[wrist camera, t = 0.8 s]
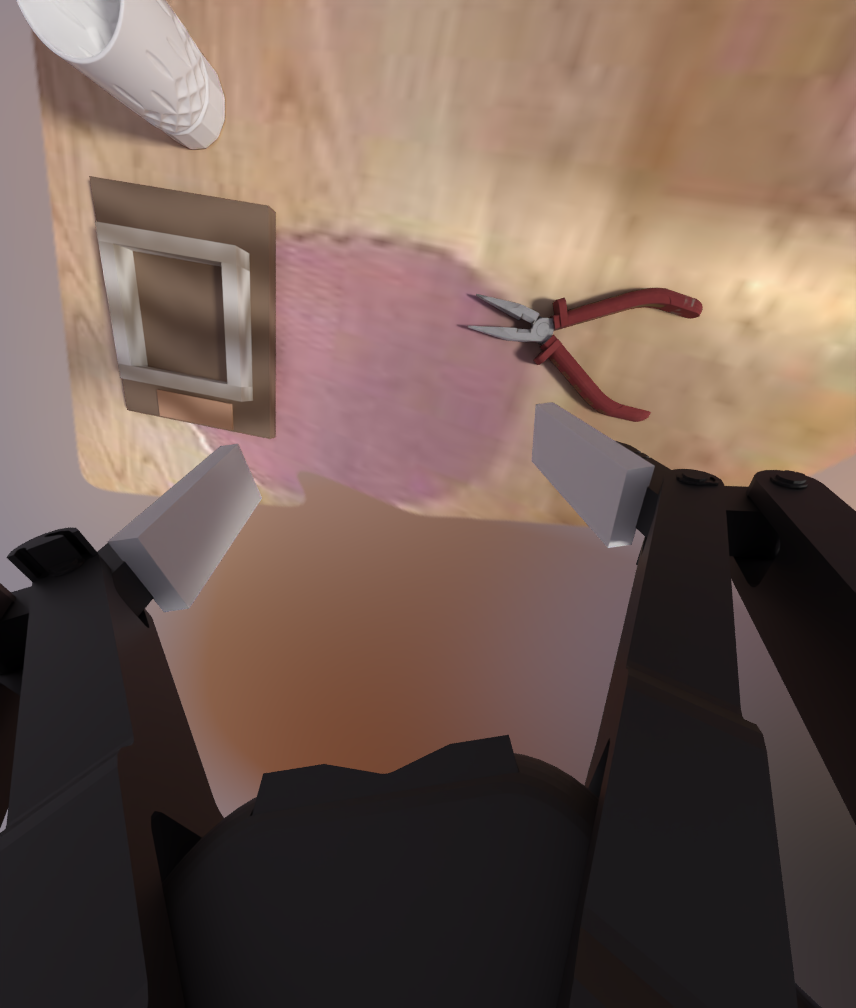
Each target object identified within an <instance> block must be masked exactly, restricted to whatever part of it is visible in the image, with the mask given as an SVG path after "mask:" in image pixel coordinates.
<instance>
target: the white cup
mask: <svg viewBox="0 0 856 1008" xmlns="http://www.w3.org/2000/svg"><path fill="white" fill-rule="evenodd" d="M16 1H17V4H18V6H19V8H20V10H21V12H22V14H23V16H24V17H25V19H26V21H27V22H28V24H29V26H30V27H31V28H32V30H33V31H34V33H35V34H36V35H37V36H38V38H39V39H40V40H41V41H42V42H43V43H44V44H45V45H46V46H47V47H48V48H49V49H50V50H51V51H53V52H54V53H55V54H57V55H58V56H59V57H61V58H62V59H63V60H65V61H66V62H68V63H69V64H70V65H72V66H73V67H74V68H76V69H77V70H78V71H80V72H81V73H82V74H84V75H85V76H86V77H88V78H89V79H90V80H92V81H93V82H94V83H96V84H97V85H98V86H100V87H101V88H102V89H104V90H105V91H106V92H108V93H109V94H110V95H112V96H113V97H114V98H116V99H117V100H118V101H120V102H121V103H122V104H124V105H125V106H127V107H128V108H129V109H131V110H132V111H134V112H135V113H136V114H138V115H139V116H141V117H142V118H144V119H145V120H146V121H148V122H149V123H151V124H152V125H153V126H155V127H156V128H158V129H161V130H162V131H163V132H164V133H166V134H167V135H168V136H170V137H171V138H172V139H174V140H175V141H177V142H179V143H180V144H182V145H184V146H186V147H188V148H189V149H203V148H207V147H208V146H209V145H211V144H212V143H213V142H214V141H215V140H216V139H217V138H218V137H219V134H220V131H221V129H222V126H223V123H224V121H225V97H224V94H223V90H222V87H221V84H220V81H219V78H218V75H217V73H216V71H215V70H214V69H213V67H212V66H211V64H210V63H209V62H208V60H207V59H206V58H205V56H204V55H203V53H202V52H201V51H200V49H199V48H198V47H197V45H196V44H195V42H194V41H193V40H192V38H191V36H190V34H189V32H188V30H187V29H186V28H185V26H184V25H183V24H182V23H181V21H180V20H179V18H178V17H177V15H176V14H175V12H174V11H173V9H172V8H171V7H170V5H169V4H168V3H167V1H166V0H16Z"/></svg>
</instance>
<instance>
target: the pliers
mask: <svg viewBox="0 0 856 1008" xmlns="http://www.w3.org/2000/svg"><path fill="white" fill-rule="evenodd" d="M476 296H477V297H479V298H481V299H482V300H484V301H486V302H487V303H489V304H491V305H493V306H494V307H496V308H498V309H500V310H501V311H503V312H505V313H506V314H508V315H510V316H512V317H514V318H515V319H517V320H520V318H522V319H524V320H526V321H527V322H529V323H531V326H530V327H531V328H530V329H517V328H507V327H485V326H467V328H470V329H473V330H476V331H479V332H482V333H485V334H488V335H491V336H494V337H498V338H501V339H504V340H508V341H518V342H529V341H532V342H536V343H538V344H540V345H541V346H540V348H541V349H542V350H543V351H542V352H541V353H540V354H539V355H538V356H537V357H536V358H535V359H534V361H535V362H536V364H537V365H540V364H541V363H543V362H544V361H545V360H546V359H547V358H549V359H550V360H551V361H552V362H553V364H554V365H555V366H556V367H557V368H558V369H559V371H560V372H561V373H562V374H563V375H564V376H565V378H566V379H567V380H568V381H569V382H570V383H571V385H572V386H573V387H574V388H575V389H576V390H577V391H578V393H579V394H580V395H581V396H582V397H583V398H584V400H585V401H586V402H587V403H588V404H589V405H591V406H592V407H593V408H594V409H596V410H597V411H598V412H600V413H602V414H604V415H608V416H612V417H616V418H621V419H625V420H629V421H633V422H638V421H643V420H645V419H647V418H648V417H649V415H650V413H651V412H649V411H645V410H642V409H637V408H633V407H629V406H625V405H622V404H619V403H617V402H615V401H613V400H611V399H610V398H609V397H607V396H606V395H605V394H604V393H603V392H602V391H601V390H600V389H599V388H598V387H597V385H596V384H595V383H594V382H593V381H592V379H591V378H590V377H589V376H588V375H587V373H586V372H585V371H584V370H583V369H582V368H581V366H580V365H579V364H578V363H577V362H576V360H575V359H574V358H573V357H572V356H571V354H570V353H569V352H568V351H567V350H566V348H565V347H564V346H563V345H562V343H561V342H560V341H559V340H558V339H557V338H556V337H555V336H554V335H552V334H553V331H555V330H559V329H562V328H566V327H569V326H573V325H576V324H580V323H583V322H587V321H590V320H594V319H597V318H601V317H604V316H608V315H611V314H615V313H618V312H622V311H625V310H629V309H634V308H642V307H649V308H656V309H660V310H663V311H666V312H669V313H673V314H676V315H679V316H682V317H685V318H696V317H699V316H700V314H701V312H702V304H701V302H700V301H699V300H697V299H695V298H692V297H689V296H686V295H683V294H680V293H677V292H674V291H671V290H668V289H666V288H648V289H641V290H636V291H631V292H628V293H625V294H621V295H618V296H615V297H611V298H608V299H604V300H601V301H598V302H594V303H591V304H588V305H584V306H581V307H577V308H574V309H571V310H567V305H566V300H565V298H561V299H558V300H556V301H555V302H554V303H553V309H554V315H553V316H551V317H550V318H542V317H540V316H539V314H540V313H538V312H536V311H534V310H532V309H530V308H528V307H526V306H524V305H521V304H518V303H514V302H510V301H505V300H501V299H497V298H492V297H488V296H483V295H479V294H476Z"/></svg>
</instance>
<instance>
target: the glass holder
mask: <svg viewBox="0 0 856 1008" xmlns="http://www.w3.org/2000/svg"><path fill="white" fill-rule="evenodd" d="M89 177H90V183H91V190H92V196H93V202H94V208H95V214H96V220H97V222H96V221H95V225H96V231H97V237H98V244H99V250H100V256H101V262H102V268H103V274H104V280H105V286H106V293H107V299H108V305H109V311H110V317H111V323H112V329H113V335H114V341H115V348H116V354H117V360H118V366H119V372H120V378H122V381H123V387H124V393H125V400H126V406H127V410H129V411H134V412H139V413H144V414H149V415H154V416H159V417H164V418H169V419H174V420H179V421H184V422H189V423H193V424H198V425H203V426H208V427H213V428H218V429H223V430H228V431H233V432H238V433H243V434H248V435H253V436H258V437H263V438H268V439H271V438H275V365H276V212H275V211H274V210H273V209H272V208H270V207H269V206H267V205H261V204H255V203H248V202H242V201H236V200H230V199H224V198H218V197H212V196H206V195H200V194H194V193H188V192H182V191H176V190H170V189H164V188H158V187H152V186H146V185H140V184H133V183H127V182H121V181H115V180H109V179H103V178H97V177H91V176H89Z"/></svg>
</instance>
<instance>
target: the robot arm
mask: <svg viewBox="0 0 856 1008" xmlns="http://www.w3.org/2000/svg"><path fill="white" fill-rule="evenodd" d="M532 462H533V463H534V464H535V465H536V467H537V468H538V469H539V470H540V471H541V472H542V473H543V475H544V476H545V477H546V478H547V479H548V480H549V481H550V482H551V484H552V485H553V486H554V487H555V488H556V489H557V490H558V492H559V493H560V494H561V495H562V496H563V497H564V498H565V500H566V501H567V502H568V503H569V504H570V505H571V506H572V508H573V509H574V510H575V511H576V512H577V513H578V514H579V515H580V517H581V518H582V519H583V520H584V521H585V522H586V523H587V525H588V526H589V527H590V528H591V529H592V530H593V531H594V533H595V534H596V535H597V536H598V537H599V538H600V539H601V540H602V541H603V543H604V544H605V545H606V546H607V547H608V548H610V547H618V546H624V545H631V544H632V541H633V538H634V534H635V531H636V528H637V529H638V530H639V531H640V532H641V533H642V534H643V535H644V536H645V538H644V541H643V545H642V547H641V551H640V554H639V557H638V560H637V563H636V565H637V570H636V574H635V578H634V583H633V587H632V591H631V596H630V600H629V604H628V608H627V613H626V617H625V621H624V626H623V630H622V635H621V639H620V643H619V647H618V652H617V656H616V660H615V664H614V669H613V673H612V678H611V682H610V686H609V691H608V695H607V699H606V703H605V707H604V712H603V716H602V721H601V725H600V729H599V733H598V738H597V742H596V746H595V750H594V753H593V757H592V760H591V764H590V767H589V770H588V774H587V778H586V782H585V786H584V785H583V784H581V783H580V782H578V781H577V780H576V779H575V778H573V777H572V776H570V775H569V774H567V773H565V772H563V771H562V770H560V769H559V768H557V767H555V766H553V765H551V764H548V763H546V762H544V761H541V760H539V759H536V758H533V757H529V756H526V755H522V754H516V753H513V749H512V745H511V742H510V738H509V735H505V736H498V737H492V738H485V739H479V740H473V741H466V742H460V743H454V744H449V745H447V746H445V747H443V748H441V749H439V750H437V751H435V752H433V753H430V754H428V755H426V756H424V757H422V758H420V759H418V760H416V761H414V762H412V763H410V764H408V765H406V766H404V767H402V768H400V769H398V770H396V771H394V772H391V773H388V774H379V773H374V772H368V771H362V770H356V769H350V768H344V767H338V766H333V765H327V764H321V765H315V766H309V767H303V768H296V769H290V770H284V771H277V772H271V773H264V774H263V777H262V780H261V784H260V788H259V791H258V795H257V797H256V798H254V799H252V800H250V801H249V802H247V803H246V804H244V805H242V806H241V807H239V808H237V809H236V810H235V811H233V812H232V813H231V814H229V815H228V816H227V817H225V818H224V817H223V816H222V814H221V813H220V811H219V809H218V807H217V805H216V803H215V800H214V798H213V795H212V792H211V789H210V786H209V783H208V780H207V777H206V774H205V771H204V768H203V766H202V762H201V759H200V757H199V754H198V751H197V748H196V745H195V742H194V739H193V736H192V733H191V730H190V727H189V725H188V722H187V718H186V716H185V713H184V710H183V707H182V704H181V701H180V698H179V695H178V692H177V689H176V686H175V683H174V680H173V678H172V675H171V672H170V669H169V666H168V663H167V660H166V657H165V654H164V651H163V648H162V646H161V642H160V639H159V637H158V633H157V631H156V628H155V625H154V622H153V619H152V617H151V615H149V613H148V612H147V611H146V610H145V607H146V606H147V605H148V604H149V603H150V601H151V600H152V599H154V600H155V602H156V603H157V604H158V605H159V606H160V608H161V609H162V610H163V611H164V612H168V611H175V610H182V609H188V608H190V607H191V605H192V603H193V602H194V600H195V599H196V597H197V596H198V594H199V593H200V591H201V590H202V588H203V587H204V585H205V584H206V582H207V581H208V579H209V578H210V576H211V575H212V573H213V572H214V570H215V568H216V567H217V566H218V564H219V562H220V561H221V559H222V558H223V556H224V555H225V553H226V552H227V550H228V549H229V547H230V546H231V544H232V543H233V541H234V540H235V538H236V537H237V535H238V534H239V532H240V531H241V529H242V528H243V526H244V524H245V523H246V521H247V520H248V518H249V517H250V515H251V514H252V512H253V511H254V509H255V508H256V506H257V505H258V503H259V502H260V500H261V499H262V497H261V495H260V492H259V490H258V488H257V485H256V483H255V481H254V479H253V476H252V474H251V472H250V469H249V467H248V465H247V463H246V460H245V458H244V456H243V454H242V451H241V449H240V447H239V444H233V445H225V446H220V447H219V448H218V449H216V450H215V451H214V452H213V453H212V454H211V455H209V456H208V457H207V458H206V459H205V460H203V461H202V462H201V463H200V464H199V465H198V466H196V467H195V468H194V469H193V470H192V471H190V472H189V473H188V474H187V475H186V476H185V477H183V478H182V479H181V480H180V481H179V482H177V483H176V484H175V485H174V486H173V487H172V488H170V489H169V490H168V491H167V492H166V493H164V494H163V495H162V496H161V497H160V498H159V499H157V500H156V501H155V502H154V503H153V504H152V505H150V506H149V507H148V508H147V509H146V510H144V511H143V512H142V513H141V514H140V515H138V516H137V517H136V518H135V519H134V520H133V521H131V522H130V523H129V524H128V525H127V526H125V527H124V528H123V529H122V530H121V531H120V532H118V533H117V534H116V535H115V536H114V537H112V538H111V539H110V540H109V541H108V543H107V544H106V545H105V546H104V547H102V548H101V549H100V550H99V551H98V552H96V550H95V549H94V548H93V547H92V546H91V544H90V543H89V542H88V541H87V540H86V539H85V537H84V536H83V535H82V534H81V533H80V531H79V530H78V529H76V528H64V529H58V530H55V531H52V532H49V533H45V534H43V535H40V536H38V537H36V538H33V539H31V540H29V541H27V542H25V543H24V544H22V545H20V546H18V547H17V548H16V549H14V550H13V551H11V553H10V554H9V555H8V556H7V558H8V559H9V560H10V561H11V562H12V563H13V564H14V565H15V566H16V567H17V568H18V569H19V570H20V571H21V572H22V573H23V574H25V575H26V576H27V577H28V578H29V579H30V580H31V581H32V586H31V587H28V588H24V589H21V590H18V591H14V592H10V591H8V590H7V589H6V588H5V587H4V586H3V585H2V584H0V827H1V825H2V822H3V820H4V817H5V815H6V812H7V809H8V816H7V825H6V829H5V830H4V831H2V832H1V833H0V1008H822V1007H821V1006H819V1005H818V1004H817V1003H816V1002H815V1001H814V1000H813V999H812V998H811V997H810V996H809V995H808V994H807V993H805V991H803V990H802V989H801V988H800V987H799V986H798V985H797V984H796V983H795V981H794V972H793V964H792V956H791V948H790V940H789V931H788V923H787V915H786V906H785V898H784V890H783V881H782V874H781V865H780V857H779V849H778V840H777V832H776V824H775V815H774V807H773V799H772V792H771V782H770V774H769V766H768V757H767V750H766V746H765V742H764V737H763V734H762V732H761V731H760V730H759V728H758V726H757V725H756V724H754V723H751V722H749V721H747V720H745V719H743V717H742V713H741V706H740V693H739V680H738V666H737V653H736V639H735V626H734V612H733V599H732V585H731V579H732V581H733V583H734V585H735V587H736V589H737V591H738V593H739V595H740V597H741V599H742V601H743V603H744V605H745V607H746V609H747V611H748V613H749V615H750V617H751V619H752V621H753V623H754V624H755V627H756V629H757V630H758V632H759V634H760V637H761V639H762V641H763V643H764V644H765V646H766V648H767V650H768V652H769V654H770V656H771V658H772V660H773V662H774V664H775V666H776V668H777V670H778V672H779V674H780V676H781V678H782V680H783V682H784V684H785V686H786V688H787V690H788V692H789V694H790V696H791V698H792V700H793V702H794V704H795V706H796V708H797V710H798V712H799V714H800V716H801V718H802V720H803V722H804V724H805V726H806V728H807V730H808V732H809V734H810V735H811V738H812V740H813V741H814V743H815V745H816V747H817V749H818V751H819V753H820V755H821V757H822V759H823V761H824V763H825V765H826V767H827V769H828V771H829V773H830V775H831V777H832V779H833V781H834V783H835V785H836V787H837V789H838V791H839V793H840V795H841V797H842V799H843V801H844V803H845V805H846V807H847V809H848V811H849V813H850V815H851V817H852V819H853V821H854V823H855V825H856V511H855V510H854V509H852V508H851V507H850V506H848V504H846V503H845V502H844V501H843V500H841V499H840V498H839V497H838V496H837V495H836V494H835V493H833V492H832V491H831V490H830V489H829V488H827V487H826V486H825V485H824V484H822V483H821V482H819V481H817V480H816V479H814V478H811V477H808V476H805V474H802V473H799V472H796V473H795V472H794V471H789V470H785V471H780V470H765V471H760V472H757V473H756V474H755V475H754V477H753V479H752V481H751V483H750V485H749V487H738V486H724V484H723V482H722V480H721V479H719V478H718V477H716V476H714V475H712V474H709V473H706V472H703V471H698V470H692V469H675V470H670V469H669V468H667V467H665V466H664V465H662V464H660V463H659V462H657V461H655V460H654V459H652V458H649V456H647V455H646V454H644V453H641V451H639V450H637V449H636V448H634V447H632V446H630V445H627V444H624V443H621V442H618V441H614V440H612V439H611V438H609V437H608V436H606V435H604V434H603V433H601V432H600V431H598V430H596V429H595V428H593V427H592V426H590V425H588V424H587V423H585V422H584V421H582V420H580V419H579V418H577V417H576V416H574V415H572V414H571V413H569V412H568V411H566V410H564V409H563V408H561V407H560V406H558V405H556V404H555V403H553V402H551V403H543V404H536V409H535V423H534V436H533V450H532Z"/></svg>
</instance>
